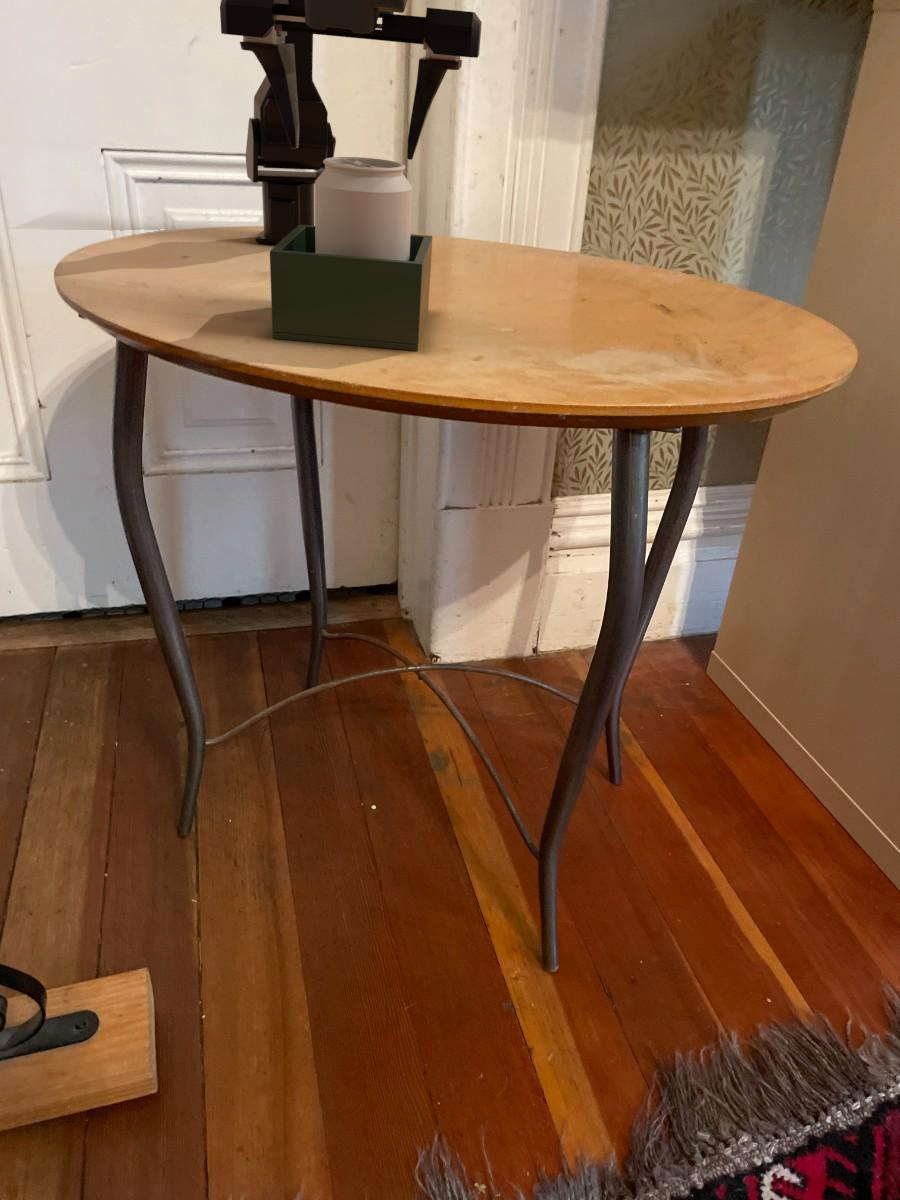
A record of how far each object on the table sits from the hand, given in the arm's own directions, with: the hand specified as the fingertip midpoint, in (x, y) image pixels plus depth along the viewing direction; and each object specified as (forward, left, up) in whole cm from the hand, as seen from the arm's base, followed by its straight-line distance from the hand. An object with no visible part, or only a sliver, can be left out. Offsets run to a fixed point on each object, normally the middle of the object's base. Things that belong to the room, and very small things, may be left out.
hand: (352, 153), depth 70 cm
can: (+4, +1, -12) cm, 13 cm away
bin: (+4, +1, -13) cm, 13 cm away
